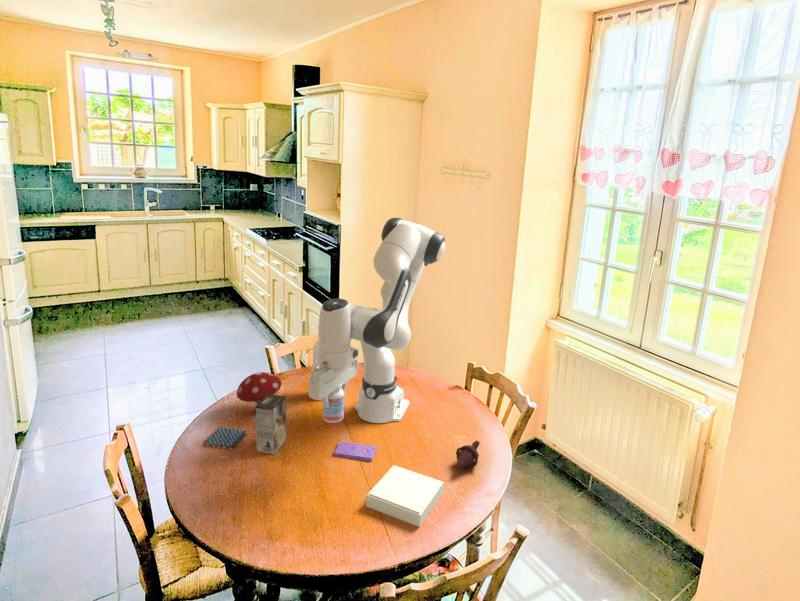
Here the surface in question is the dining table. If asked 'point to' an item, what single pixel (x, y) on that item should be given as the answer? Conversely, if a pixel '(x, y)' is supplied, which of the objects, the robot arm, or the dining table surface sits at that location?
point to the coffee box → (270, 423)
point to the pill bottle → (335, 406)
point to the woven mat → (225, 438)
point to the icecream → (468, 455)
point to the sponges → (355, 451)
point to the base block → (405, 495)
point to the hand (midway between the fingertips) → (333, 401)
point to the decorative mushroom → (258, 387)
